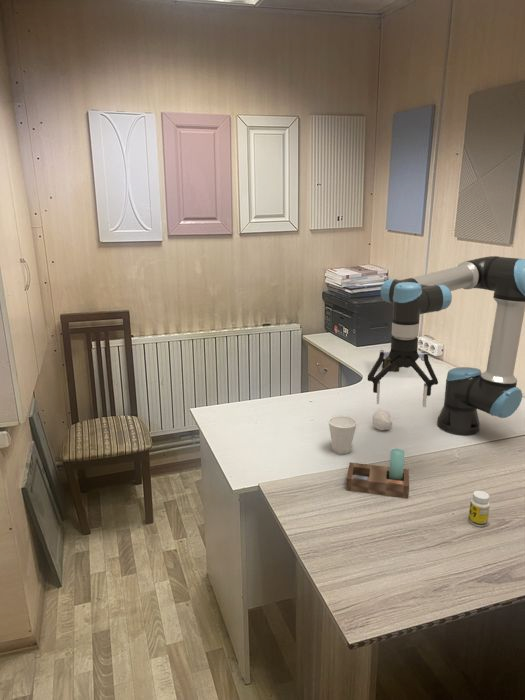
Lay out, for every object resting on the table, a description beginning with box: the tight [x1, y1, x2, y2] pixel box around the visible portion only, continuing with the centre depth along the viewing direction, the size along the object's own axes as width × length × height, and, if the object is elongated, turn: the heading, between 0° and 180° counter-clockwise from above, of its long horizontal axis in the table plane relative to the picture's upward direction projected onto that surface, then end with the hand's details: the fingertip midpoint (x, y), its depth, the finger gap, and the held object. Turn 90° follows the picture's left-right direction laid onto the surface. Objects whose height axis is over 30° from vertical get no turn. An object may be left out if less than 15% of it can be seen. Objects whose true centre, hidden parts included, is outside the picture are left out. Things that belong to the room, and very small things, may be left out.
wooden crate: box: [381, 356, 400, 373], centre depth 262 cm, size 7×7×7 cm
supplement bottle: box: [468, 490, 491, 527], centre depth 138 cm, size 5×5×8 cm
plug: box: [388, 448, 406, 481], centre depth 154 cm, size 4×4×12 cm
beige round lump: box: [371, 409, 394, 431], centre depth 194 cm, size 8×8×8 cm
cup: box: [327, 415, 358, 455], centre depth 177 cm, size 10×10×11 cm
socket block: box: [345, 461, 410, 499], centre depth 156 cm, size 18×10×4 cm, turn 76°
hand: (400, 403), depth 156 cm, fingers open, 13 cm apart
